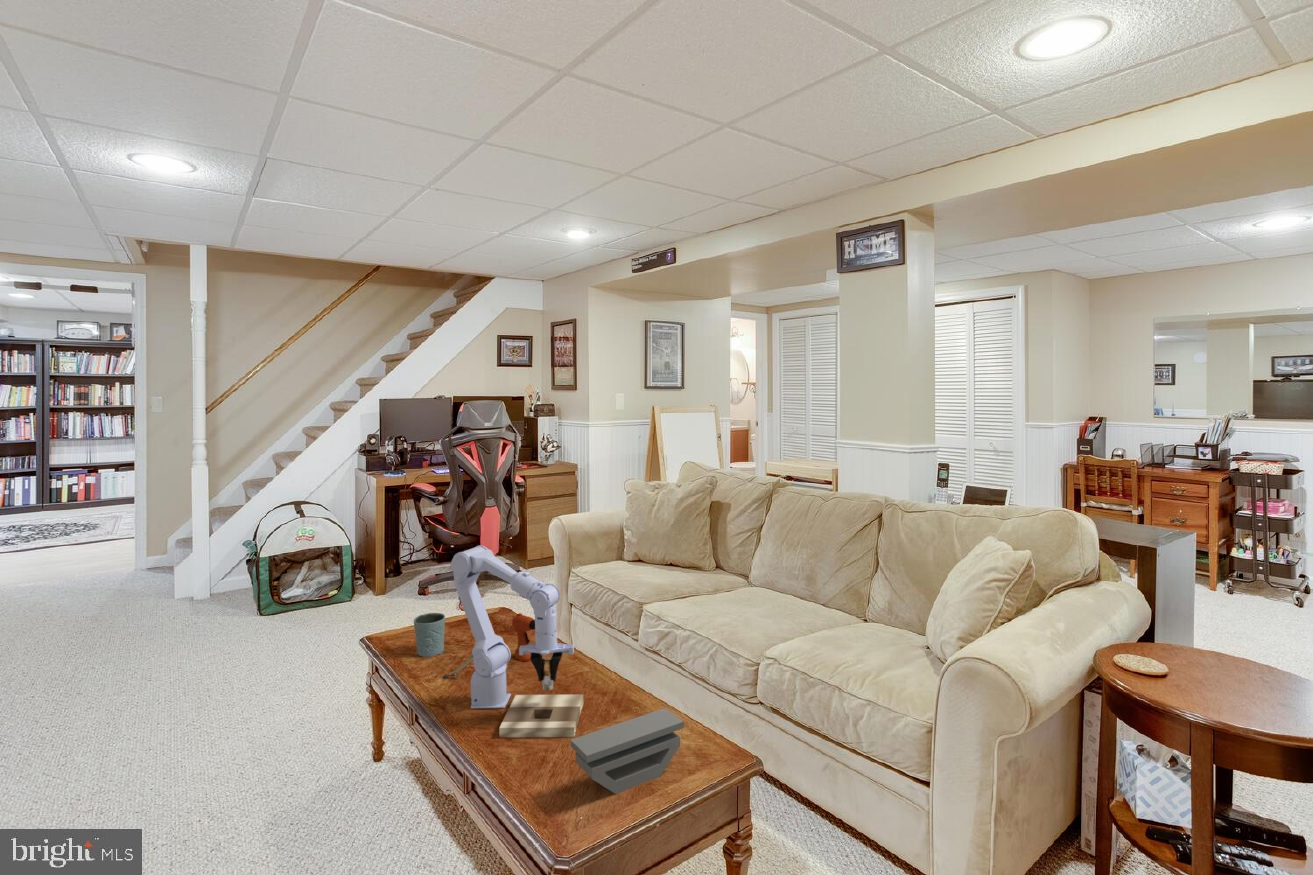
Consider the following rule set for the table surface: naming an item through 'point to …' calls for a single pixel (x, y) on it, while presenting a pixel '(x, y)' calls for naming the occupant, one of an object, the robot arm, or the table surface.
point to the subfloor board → (542, 716)
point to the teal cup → (429, 634)
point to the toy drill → (522, 634)
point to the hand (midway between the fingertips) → (547, 679)
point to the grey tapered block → (629, 750)
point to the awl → (547, 674)
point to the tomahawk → (459, 668)
